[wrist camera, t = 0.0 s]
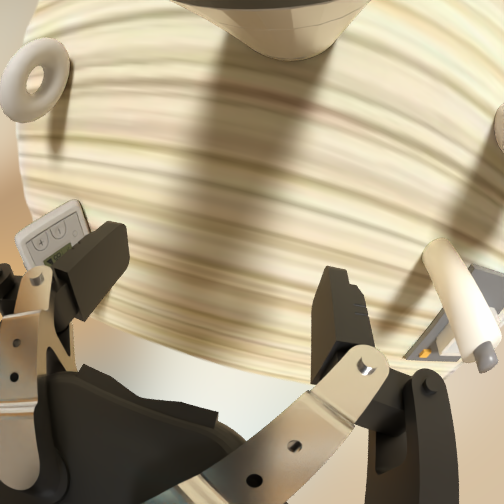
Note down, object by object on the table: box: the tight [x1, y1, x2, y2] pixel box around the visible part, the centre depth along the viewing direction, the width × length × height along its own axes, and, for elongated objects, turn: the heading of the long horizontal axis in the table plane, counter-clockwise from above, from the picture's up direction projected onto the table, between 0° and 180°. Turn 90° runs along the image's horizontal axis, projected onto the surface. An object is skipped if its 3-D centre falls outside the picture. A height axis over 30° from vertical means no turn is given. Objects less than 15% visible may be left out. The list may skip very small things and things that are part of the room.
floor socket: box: [405, 264, 504, 362], centre depth 30 cm, size 20×13×4 cm, turn 172°
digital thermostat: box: [15, 199, 90, 271], centre depth 31 cm, size 16×9×11 cm, turn 169°
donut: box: [0, 37, 70, 123], centre depth 17 cm, size 10×4×10 cm, turn 160°
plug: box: [422, 238, 502, 373], centre depth 20 cm, size 4×4×16 cm
